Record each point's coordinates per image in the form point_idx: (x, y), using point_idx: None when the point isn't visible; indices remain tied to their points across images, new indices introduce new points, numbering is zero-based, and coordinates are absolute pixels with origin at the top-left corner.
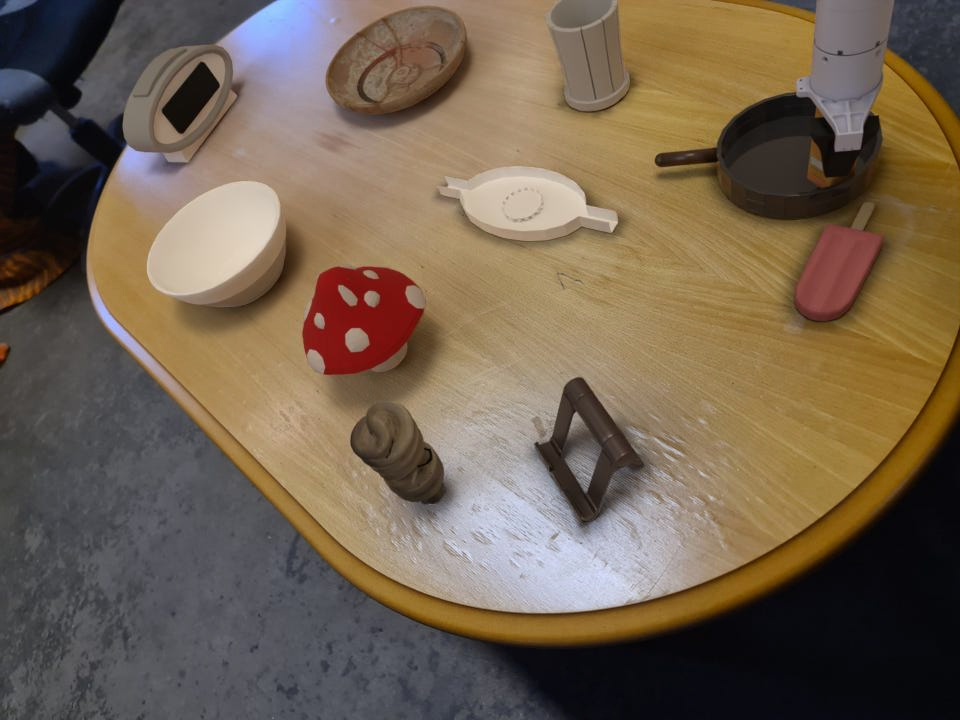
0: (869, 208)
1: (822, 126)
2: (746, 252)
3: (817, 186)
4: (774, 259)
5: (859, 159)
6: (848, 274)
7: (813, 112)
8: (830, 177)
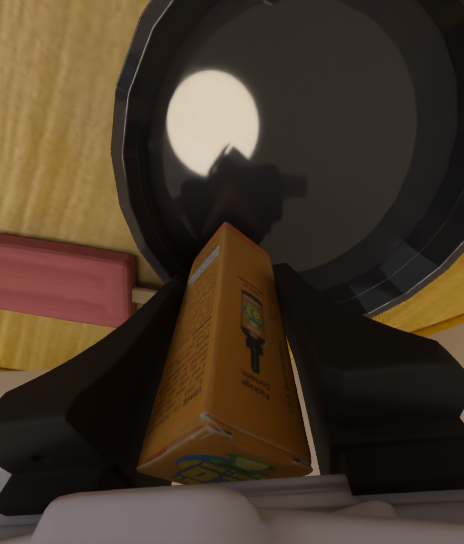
0: None
1: (34, 450)
2: (37, 125)
3: None
4: (47, 185)
5: None
6: (36, 303)
7: (442, 196)
8: (188, 280)
